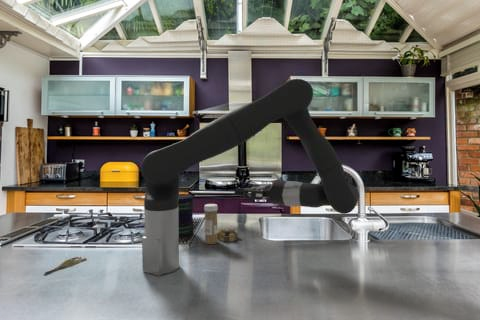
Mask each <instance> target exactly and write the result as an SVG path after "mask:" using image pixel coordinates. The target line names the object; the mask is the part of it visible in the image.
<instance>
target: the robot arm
mask: <svg viewBox="0 0 480 320" xmlns="http://www.w3.org/2000/svg"><path fill="white" fill-rule="evenodd" d="M313 98H314V90H313V86H312V85H311V84H310V83H309V82H308V81H306V80H305V79H302V78H293V79H289V80H288V81H287V80H286V81H285V82H284V83H282V84H281V85H280V86H278V87H276V88H275V89H273V90H272V91H270V92H269V93H267V94H266V95H263V97H260V98H259V99H256V100H254V101H252V102H249V103H248V104H244V105H243V106H241V107H239V108H238V107H237V108H236V109H234V110H233V111H231V112H228V113H226V114H224V115H222V116H220V117H217V118H216V119H213V121H211V122H209V123H207V124H206V125H203V126H202V127H201V128H199V129H198V130H196V131H195V132H193V133H191V134H190V135H189V136H187V137H186V138H184V139H182V140H180V141H178V142H176V143H172V144H171V145H168V146H165V147H163V148H160V149H156V150H153V151H151V152H149V153H148V154H147V155H146V156H145V157H143V160H142V161H141V166H140V167H141V168H140V172H141V175H142V177H143V179H144V180H145V195H144V199H143V206H144V207H143V209H144V211H143V212H144V215H143V216H144V221H143V222H144V236H143V237H142V238H141V246H142V247H141V249H142V251H141V252H142V253H141V254H142V257H141V261H142V262H141V264H142V272H145V273H148V274H151V275H155V276H161V275H165V274H170V273H173V272H175V271H177V270H178V269H179V267H180V244H179V243H180V241H179V240H180V239H179V220H178V217H179V216H178V199H179V194H180V175H181V174H182V173H184V172H186V171H187V170H188V169H190V168H192V167H193V166H195V165H198V164H199V163H201V162H202V163H203V162H204V161H206V160H209V159H212V158H215V157H216V156H219V155H221V154H223V153H226V152H228V151H230V150H232V149H234V148H236V147H238V146H239V145H241V144H243V143H245V142H247V141H249V139H252V138H253V137H254V136H255V135H257V134H259V132H261V131H263V129H265V128H266V127H267V126H269V125H271V124H272V123H274V122H275V121H277V120H279V119H282V118H285V120H286V122H287V123H288V124H289V125H290V127H291V128H292V130H293V131H294V133H295V135H296V136H297V138H298V139H299V140H300V142H301V144H302V146H303V149H305V152H306V154H307V155H308V157H309V159H310V161H311V163H312V165H313V167H314V170H315V171H316V173H317V175H318V177H319V178H320V181H321V183H312V182H300V181H294V180H293V181H291V180H273V181H272V183H271V184H267V183H262V184H247V185H246V187H245V188H244V187H243V188H241V187H235V188H234V195H235V196H241V197H243V198H244V199H253V200H260V201H261V200H264V199H265V200H266V199H267V198H269V200H270V202H271V204H273V205H275V206H276V205H277V206H287V207H305V208H313V209H314V208H320V207H323V206H330V207H331V208H332V209H333V210H334V211H335V212H337V213H340V214H343V215H344V214H349V213H351V212H353V210H354V209H355V208H356V206H357V204H358V202H359V200H360V193H359V190H358V189H357V188H356V186H354V185H353V184H350V183H348V181H347V179H346V177H345V170H344V167H343V165H342V163H341V160H340V159H339V157H338V155H337V152H336V151H335V149H334V148H333V146H332V144H331V143H330V141H329V140H328V139H327V138H326V137H325V136H324V135H323V133H322V132H321V131H320V130H319V128H318V127H317V126H316V123H314V121H313V118H312V117H311V114H310V111H309V109H308V108H309V106H310V105H311V103H312V101H313ZM249 193H250V194H249Z"/></svg>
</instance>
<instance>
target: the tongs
mask: <svg viewBox="0 0 480 320" xmlns="http://www.w3.org/2000/svg"><path fill="white" fill-rule="evenodd" d="M87 259H88V258H86V257H83V258H82V256H75V257H71V258H69V259H67V260H64V261H63V262H61V263H60V264H58V266H56V267H55V268H53V269H51V270H47V271H45V272H44V274H43V276H47V275H49V274H52V273H55V272H56V271H59V270H62V269H64V268H67V267H70V266H73V265H75V264H78V263H81V262H84V261H86V260H87Z"/></svg>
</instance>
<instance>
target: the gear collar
mask: <svg viewBox="0 0 480 320" xmlns="http://www.w3.org/2000/svg"><path fill="white" fill-rule="evenodd" d="M237 239H238V230H235V229H233V228H229V229H228V230H226V229H225V228H223V229H220V230H217V240H218V241H221V242H233V241H236V240H237Z"/></svg>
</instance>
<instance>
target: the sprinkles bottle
mask: <svg viewBox="0 0 480 320" xmlns="http://www.w3.org/2000/svg"><path fill="white" fill-rule="evenodd" d="M218 208H219V207H218V204H216V203H207V204H204V235H205V236H204V239H205V240H204V243H205V244H206V245H214V244H217V243H218V242H219V240H218V239H217V231H218Z"/></svg>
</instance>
